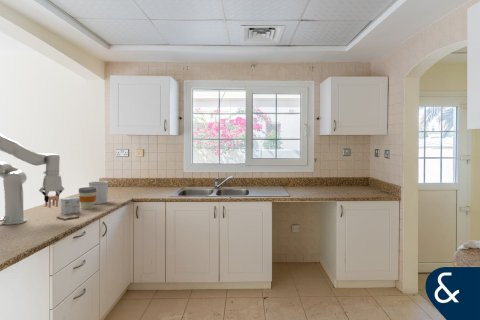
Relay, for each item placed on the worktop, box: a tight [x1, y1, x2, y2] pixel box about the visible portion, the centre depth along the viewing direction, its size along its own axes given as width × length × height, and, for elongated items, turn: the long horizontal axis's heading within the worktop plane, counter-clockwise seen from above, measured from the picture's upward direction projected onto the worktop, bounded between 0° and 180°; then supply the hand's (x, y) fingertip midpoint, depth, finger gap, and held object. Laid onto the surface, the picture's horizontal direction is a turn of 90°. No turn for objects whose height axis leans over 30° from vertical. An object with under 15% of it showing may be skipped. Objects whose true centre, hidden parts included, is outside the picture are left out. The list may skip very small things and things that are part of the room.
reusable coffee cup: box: [78, 186, 96, 210], centre depth 256 cm, size 12×13×15 cm
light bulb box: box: [60, 196, 81, 215], centre depth 236 cm, size 11×7×11 cm, turn 141°
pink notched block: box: [44, 194, 60, 209], centre depth 212 cm, size 6×6×7 cm
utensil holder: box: [88, 180, 109, 205], centre depth 277 cm, size 15×15×18 cm
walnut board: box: [56, 213, 80, 221], centre depth 221 cm, size 10×10×1 cm
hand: (51, 201), depth 212 cm, fingers closed on pink notched block, 5 cm apart
